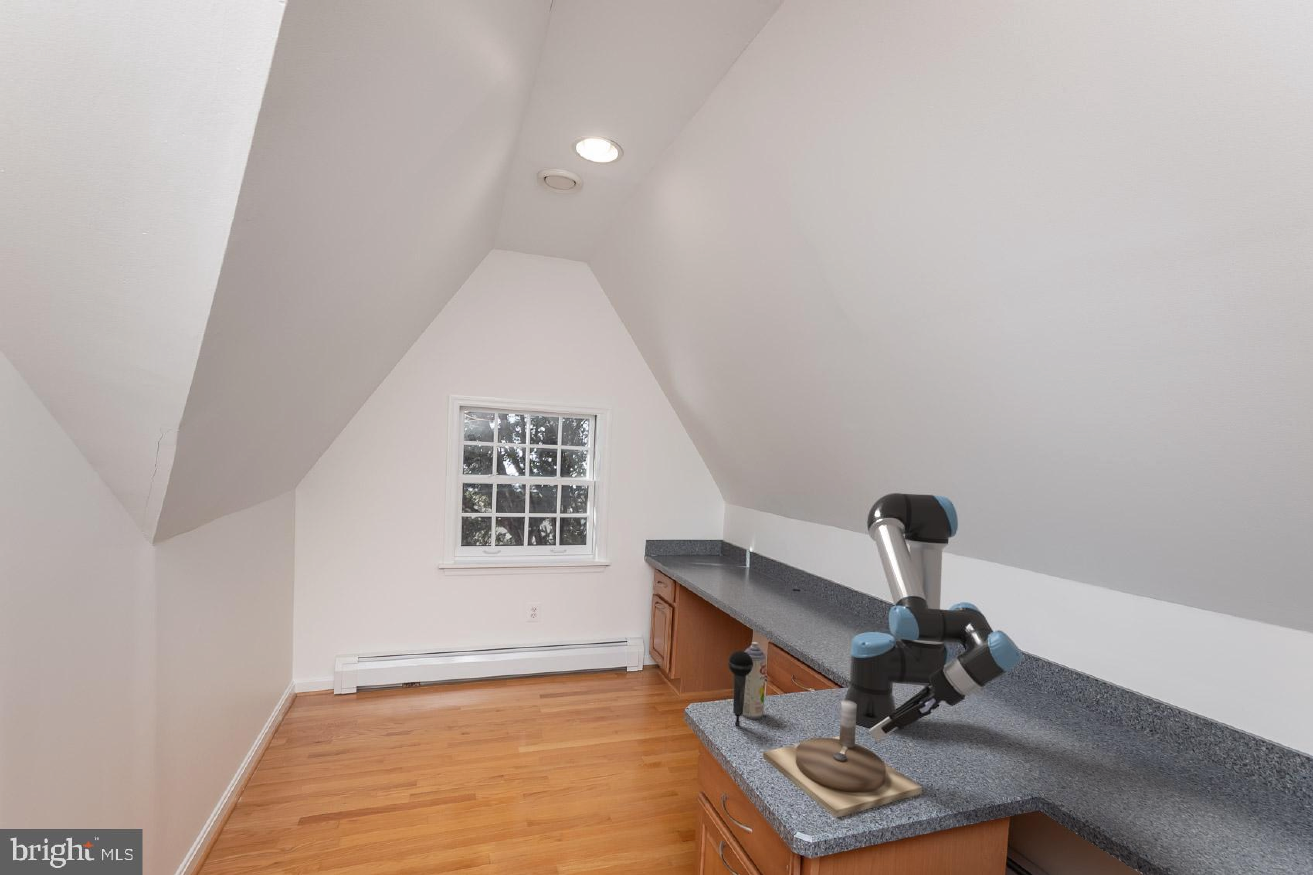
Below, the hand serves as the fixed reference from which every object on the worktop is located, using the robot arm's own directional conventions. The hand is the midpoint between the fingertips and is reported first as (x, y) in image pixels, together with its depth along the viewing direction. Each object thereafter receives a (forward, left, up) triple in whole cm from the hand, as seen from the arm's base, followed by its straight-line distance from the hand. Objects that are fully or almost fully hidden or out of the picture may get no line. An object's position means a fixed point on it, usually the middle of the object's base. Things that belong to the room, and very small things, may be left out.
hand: (873, 735), depth 142 cm
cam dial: (+9, -1, -6) cm, 11 cm away
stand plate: (+9, -1, -8) cm, 12 cm away
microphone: (+18, -30, -8) cm, 36 cm away
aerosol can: (+10, -35, -8) cm, 37 cm away
